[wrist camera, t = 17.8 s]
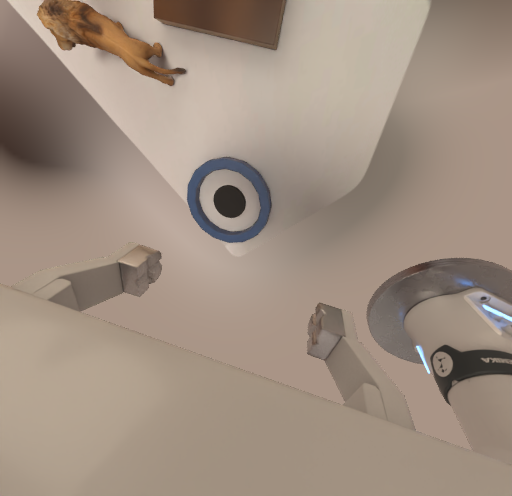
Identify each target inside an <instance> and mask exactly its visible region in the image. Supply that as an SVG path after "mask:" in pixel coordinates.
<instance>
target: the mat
mask: <svg viewBox="0 0 512 496" xmlns="http://www.w3.org/2000/svg"><path fill="white" fill-rule="evenodd" d="M214 205H215V207H216V209H217V211H218V212H219V213H220V214H222V215H223V216H225V217H228V218H235V217H238V216H239V215H241V214H242V212H243V211H244V209H245V198H244V196H243V194H242V192H241V191H240V190H239V189H237V188H236V187H233V186H229V185H227V186H222V187H221V188H219V189H218V190H217V191H216V193H215V195H214Z"/></svg>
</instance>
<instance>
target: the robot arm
mask: <svg viewBox="0 0 512 496" xmlns="http://www.w3.org/2000/svg"><path fill="white" fill-rule="evenodd" d="M160 259H161V253H160V251H157V250H154V249H152V248H149V247H146V246H143V245H140V244H137V243H134V242H130V243H128V244H126V245H125V246H123V247H122V248H120V249H119V250H117V251H116V252H114V253H113V254H111V255H110V256H108V257H106V258H104V257H101V258H96V259H91V260H87V261H82V262H77V263H72V264H68V265H63V266H58V267H53V268H49V269H44V270H40V271H38V272H37V273H35V274H33V275H31V276H29V277H27V278H26V279H24V280H22V281H20V282H18V283H16V284H15V285H13V286H11V287H9V286H6V285H3V284H0V496H512V303H510V302H508V301H506V300H504V299H502V298H500V297H498V296H496V295H494V294H492V293H490V292H488V291H486V290H484V289H482V288H478V287H476V288H471V289H468V290H465V291H463V292H460V293H457V294H450V295H442V296H437V297H433V298H430V299H427V300H425V301H422V302H421V303H419V304H417V305H416V306H414V307H413V308H412V309H411V310H410V311H409V312H408V313H407V315H406V316H405V319H404V329H405V331H406V333H407V334H408V336H409V337H410V338H411V340H412V345H413V348H414V349H415V351H416V352H417V353H419V354H420V356H421V358H422V360H423V363H424V365H425V367H426V369H427V371H428V373H430V372H431V373H432V375H433V377H434V378H435V381H436V383H437V385H438V387H439V390H440V392H441V394H442V395H443V397H444V399H445V400H446V402H447V403H448V404H449V405H450V406H451V407H452V408H453V411H454V413H455V415H456V417H457V419H458V421H459V423H460V425H461V427H462V429H463V432H464V433H465V436H466V438H467V440H468V442H469V444H470V446H471V448H472V450H473V451H471V450H468V449H465V448H463V447H460V446H457V445H454V444H451V443H448V442H446V441H443V440H440V439H437V438H434V437H431V436H428V435H426V434H423V433H420V432H417V431H416V429H415V427H414V424H413V420H412V417H411V414H410V411H409V408H408V405H407V402H406V399H405V396H404V395H403V393H402V392H401V391H400V390H399V388H398V387H397V386H396V385H395V383H394V382H393V381H392V380H391V379H390V377H389V376H388V375H387V373H386V372H385V371H384V370H383V369H382V367H381V366H380V365H379V364H378V362H377V361H376V360H375V359H374V358H373V356H372V355H371V354H370V352H369V351H368V350H367V349H366V347H365V346H364V345H363V344H362V343H361V342H358V337H357V333H356V328H355V324H354V319H353V314H352V313H351V312H349V311H346V310H342V309H338V308H335V307H332V306H329V305H326V304H322V303H319V304H318V305H317V307H316V313H314V314H312V316H311V318H310V321H309V325H308V335H309V336H310V338H309V340H308V341H307V354H308V355H311V356H314V357H316V358H319V359H322V360H325V363H326V365H327V366H328V369H329V371H330V373H331V374H332V376H333V379H334V380H335V383H336V385H337V387H338V389H339V391H340V393H341V395H342V397H343V399H344V401H345V403H344V404H343V405H341V404H339V403H336V402H333V401H330V400H327V399H324V398H321V397H319V396H316V395H313V394H310V393H307V392H305V391H302V390H299V389H296V388H294V387H291V386H288V385H285V384H282V383H279V382H276V381H274V380H271V379H268V378H265V377H262V376H260V375H257V374H254V373H251V372H248V371H245V370H243V369H240V368H237V367H234V366H231V365H228V364H226V363H223V362H220V361H217V360H214V359H212V358H209V357H206V356H203V355H200V354H197V353H195V352H192V351H189V350H186V349H183V348H181V347H178V346H175V345H172V344H169V343H167V342H164V341H161V340H158V339H155V338H152V337H150V336H147V335H144V334H141V333H138V332H136V331H133V330H129V329H127V328H124V327H121V326H118V325H116V324H113V323H110V322H107V321H105V320H102V319H99V318H96V317H93V316H90V315H88V314H85V313H82V312H81V311H82V310H85V309H87V308H89V307H92V306H94V305H97V304H99V303H101V302H103V301H106V300H108V299H110V298H113V297H115V296H117V295H119V294H122V293H123V292H125V293H129V294H132V295H135V296H138V297H140V296H141V295H142V294H143V293H144V292H145V291H146V290H147V289H148V288H149V284H151V283H154V282H155V281H156V280H157V279H158V277H159V276H160V274H161V270H162V265H161V264H160V262H159V260H160ZM428 368H429V370H430V372H429V370H428Z"/></svg>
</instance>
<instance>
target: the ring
mask: <svg viewBox="0 0 512 496" xmlns="http://www.w3.org/2000/svg"><path fill="white" fill-rule="evenodd" d="M220 169H228V170H232V171H235V172H239V173H240V174H242V175H243V176H244V177H246V178H247V179H248V180H249V181H251V182H252V184H253V186H254V187H255V189H256V191H257V192H258V194H259V200H260V206H261V209H260V213H259V218H258V220H257V221H256V222H255V224H254V225H253V226H252V227H250V228H248V229H246V230H244V231H237V232H230V231H226V230H223V229H220V228H218V227H217V226H216V225H214V224H213V223H212V222H210V221H209V219H208V218H207V217H206V215H205V214H204V212H203V211H202V208H201V204H200V201H199V192H200V186H201V184H202V182H203V180H204V178H205V176H207V175H208V174H209V173H211V172H212V171H214V170H220ZM187 202H188V205H189V208H190V211H191V214H192V215H193V218H194V219H195V221H196V222H197V223H198V225H199V226H200V227H201V228H203V229H202V230H204V231H205V232H207V233H208V234H210V235H211V236H212V237H214V238H216V239H219V240H222V241H225V242H229V243H233V242H243V241H246V240H249V239H251V238H253V237H255V236H256V235H258V233H259V232H260V231H261V230H262V228H263V227H264V226H265V225H266V223H267V221H268V217H269V213H270V210H271V199H270V192H269V188H268V186H267V185H266V183H265V181H264V180H263V178H262V176H261V174H259V172H258V171H257V170H255V169H254V168H253V167H251V166H250V165H249V164H248V163H246V162H245V161H241V160H238V159H234V158H230V157H224V158H218V159H212V160H210V161H207V162H206V163H205V164H203V165H202V166H200V167H199V168H198V169H196V170H195V172H194V174H193V176H192V178H191V180H190V182H189V184H188V194H187Z"/></svg>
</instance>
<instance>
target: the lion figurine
mask: <svg viewBox="0 0 512 496" xmlns="http://www.w3.org/2000/svg"><path fill="white" fill-rule="evenodd" d="M37 16H38V17H39V19H40V20H41V21H42V23H43V25H44V26H45V27H46V28H47V29H50V31H51V33H52V34H53V35H54V36H55V37H56V39H57V42H58V45H59V47H60V48H61V49H62V50H71V49H72V47H75V46H76V44H81V45H83V44H85V45H87V46H90V47H94V48H99V49H101V50H105V51H107V52H110V53H112V54H114V55H117V56H119V57H120V58H122V59H123V60H124V61H125V63H126V64H127V65H128V66H129V67H131V68H132V69H134V70H136V71H138V72H139V73H140V74H142V75H145V76H148V77H151V78H154V79H157V80H159V81H161V82H162V83H165V84H168V85H170V86H172V85H173V82H174V81H173V78H172V77H170V76H166V77H165V76H163V75H160V74H157V73H155V72H158V73H162V74H176V73H179V74H184V73H185V72H186V70H185V69H182V68H176V69H172V70H167V69H162V68H159V67H157V66H155V65H153V64H151V63H149V61H148V59H149V58H151V57H152V56H153V55H156V56H157V57H161V54H162V47H161V45H160V44H159V43H154V45H153V47H152V46H150V45H149V44H147V43H145V42H141V41H139V40H137V39H132V38H129V37H128V35H127V34H126V33H125V32H124V31H123V27H122V25H121V23H119V22H117V23H115V22H113V21H112V20H110V19H109V18H108V17H106V16H104V15H101V14H100V13H98V12H96V11H95V10H94V9H93V8H92V7H91V6H89V5H87V4H85V3H82V2H80V1H71V0H44V2H43V3H42V4H41V5H40V6H39V11H38V13H37ZM75 43H76V44H75ZM154 71H155V72H154Z"/></svg>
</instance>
